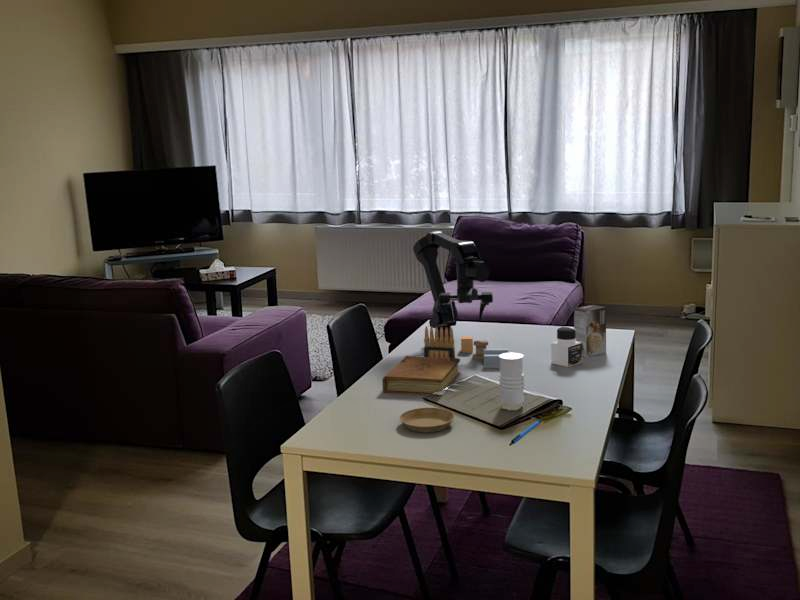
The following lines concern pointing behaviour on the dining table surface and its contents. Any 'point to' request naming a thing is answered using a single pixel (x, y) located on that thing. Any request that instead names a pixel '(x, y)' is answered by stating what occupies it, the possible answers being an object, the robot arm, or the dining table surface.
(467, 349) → the block
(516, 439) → the pen
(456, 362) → the diary
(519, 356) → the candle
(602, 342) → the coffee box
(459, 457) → the dining table surface
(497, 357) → the notched board
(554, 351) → the medicine bottle
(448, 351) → the ammunition clip
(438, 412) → the plant saucer
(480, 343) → the wooden knob
